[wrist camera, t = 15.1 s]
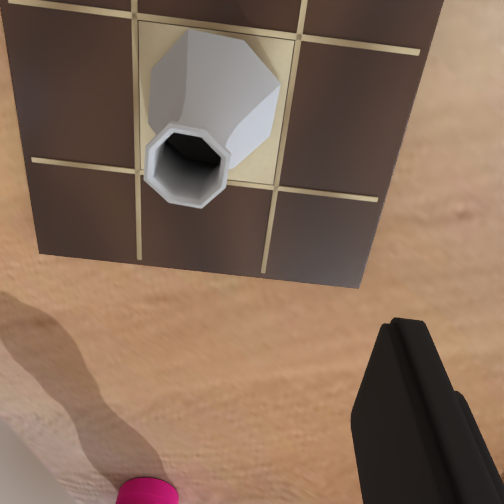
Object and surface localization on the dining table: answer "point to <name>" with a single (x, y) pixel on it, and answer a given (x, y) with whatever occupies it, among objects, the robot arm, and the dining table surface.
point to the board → (248, 170)
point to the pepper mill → (147, 492)
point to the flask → (205, 115)
